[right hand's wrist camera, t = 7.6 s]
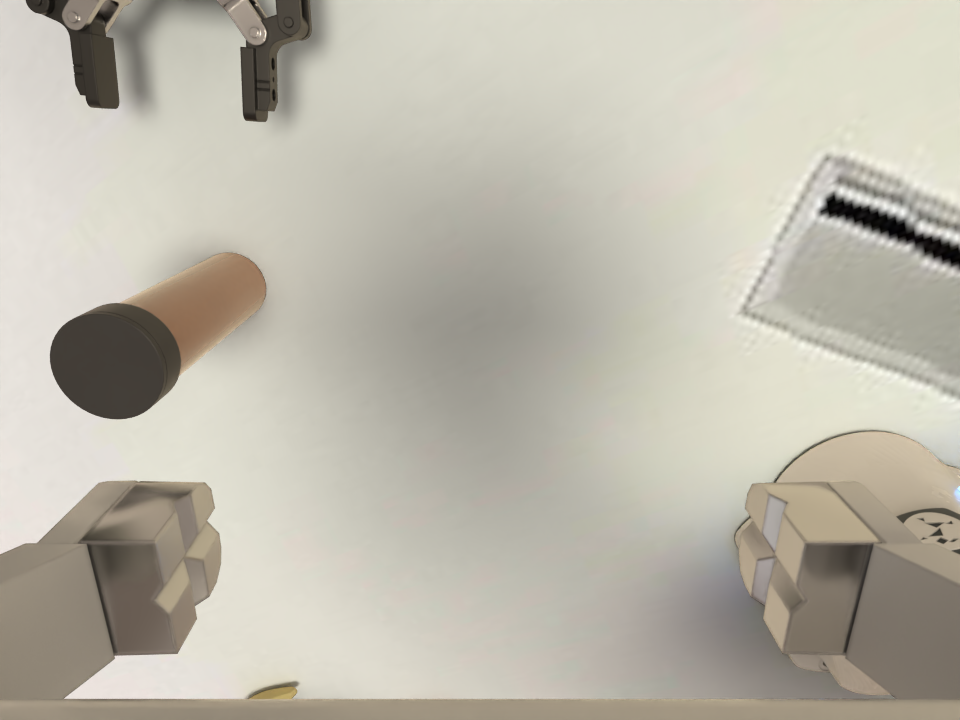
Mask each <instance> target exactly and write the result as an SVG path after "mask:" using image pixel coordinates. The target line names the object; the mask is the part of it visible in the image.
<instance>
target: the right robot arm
mask: <svg viewBox="0 0 960 720" xmlns="http://www.w3.org/2000/svg"><path fill="white" fill-rule="evenodd" d="M214 509H215V506H214V501H213V496H212V491H211V488H210V487H209V486H208V485H207V484H206V483H205V482H156V481H140V482H138V481H106V482H101V483H98V484H97V485H96V486H95V487H94V488H93V489H92V490H91V491H90V492H89V493H88V494H87V495H86V496H85V497H84V498H83V499H82V500H81V501H80V502H79V503H78V504H77V505H76V506H75V507H74V508H73V509H71V510H70V511H69V512H68V513H67V514H66V515H65V516H64V517H63V518H62V519H61V520H60V521H59V522H58V523H57V524H56V525H55V526H54V527H53V528H52V529H51V530H50V531H49V532H48V533H47V534H46V535H45V536H44V537H43V538H42V539H41V540H40V541H39V542H38V543H29V544H23V545H21V546H19V547H16V548H14V549H12V550H9V551H7V552H5V553H3V554H0V720H960V469H958V468H955V467H951V466H947V465H945V464H943V463H942V462H941V461H939V460H938V459H937V458H936V457H935V456H934V455H933V454H932V453H931V452H930V451H928V450H927V449H926V448H925V447H923V446H922V445H920V444H919V443H917V442H915V441H913V440H911V439H909V438H907V437H904V436H901V435H897V434H893V433H887V432H874V431H872V432H858V433H852V434H847V435H843V436H840V437H837V438H834V439H831V440H828V441H826V442H824V443H822V444H820V445H818V446H816V447H814V448H812V449H811V450H809V451H807V452H806V453H804V454H803V455H802V456H800V457H799V458H798V459H797V460H795V461H794V462H793V463H792V464H791V465H790V466H789V467H788V468H787V469H786V470H785V471H784V472H783V473H782V475H781V476H780V477H779V478H778V480H777V481H776V483H756V484H752V485H751V487H750V489H749V492H748V494H747V500H746V505H745V509H746V510H747V512H748V514H749V515H750V517H751V518H750V519H748V520H747V521H746V522H745V523H744V524H743V525H742V526H741V527H740V528H739V530H738V531H737V533H736V535H735V542H736V545H737V547H738V549H739V552H738V554H739V564H740V572H741V575H742V579H743V582H744V585H745V587H746V589H747V590H748V592H749V594H750V596H751V597H752V598H754V599H755V600H757V601H758V602H760V603H761V604H763V605H764V606H765V610H764V616H763V620H764V622H765V623H766V625H767V627H768V629H769V630H770V632H771V634H772V636H773V638H774V639H775V641H776V643H777V645H778V646H779V648H780V650H781V652H782V654H788V656H789V657H790V659H791V660H792V662H793V663H794V664H795V665H796V666H797V667H799V668H802V669H806V670H811V671H818V672H831V674H832V675H833V677H834V678H835V680H836V681H837V682H838V684H839V685H840V686H841V687H843V688H845V689H847V690H849V691H852V692H855V693H859V694H866V695H888V694H891V695H892V696H893V697H894V698H896V699H64V698H65V697H66V696H68V695H69V694H70V693H71V692H73V691H74V690H75V689H77V688H78V687H79V686H80V685H82V684H83V683H84V682H86V681H87V680H88V679H89V678H91V677H92V676H93V675H95V674H96V673H97V672H98V671H100V670H101V669H102V668H104V667H105V666H106V665H107V664H109V663H110V662H111V661H113V660H114V659H115V656H117V655H152V654H178V652H179V650H180V648H181V647H182V645H183V643H184V641H185V639H186V638H187V636H188V634H189V632H190V630H191V629H192V627H193V625H194V623H195V622H196V620H197V616H196V610H195V606H196V605H197V604H199V603H200V602H202V601H203V600H205V599H206V598H208V597H209V596H210V594H211V592H212V590H213V588H214V586H215V585H216V583H217V579H218V574H219V570H220V566H221V543H220V536H219V533H218V532H217V531H216V530H215V529H214V528H213V527H212V526H211V525H210V524H209V522H208V521H207V520H208V518H209V517H210V515H211V513H212V512H213V510H214Z"/></svg>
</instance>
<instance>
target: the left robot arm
mask: <svg viewBox="0 0 960 720" xmlns="http://www.w3.org/2000/svg"><path fill="white" fill-rule="evenodd" d="M132 1H133V0H26V3H27V5H28V7H29V8H30V9H31V10H32V11H34V12H35V13H39V14H43V15H45V16H47V17H49V18H51V19H53V20H56V21H58V22H60V23H61V24H63V25H64V26H65V28H66V29H67V30H68V32H69V35H70V41H71V50H72V58H73V64H74V66H73V67H74V73H75V74H74V75H75V84H76V87H77V89H78V91H79V93H80V95H85V96H86V101H87V104H88V105H89V106H90V107H93V108H107V109H117V108H118V106H119V93H118V83H117V72H116V62H115V52H114V42H113V38H109V37H106V33H107V32H108V31H109V29H110V28H111V26H112V25H113V23H114V21H115V20H116V18H117V17H118V15H119V13H120V12H121V10H122V9H123V8H124V7H125V6H127V5H129V4H130V3H131V2H132ZM217 1H218V3H219V4H220V5H221V6H222V7H223V8H224V9H225V10H226V11H227V13H228V14H229V15H230V17H231V18H232V20H233V21H234V23H235V24H236V26H237V27H238V28H239V30H240V31H241V33H242V34H243V36H244V37H245V39H246V47H240V49H241V74H242V100H243V116H244V119H245V120H246V121H256V122H266V121H267V118H268V111H275V108H276V105H277V103H278V95H277V52H278V50H279V48H280V47H281V46H282V45H284V44H287V43H290V42H293V41H296V40H306V39H307V38H309V36H310V35H311V31H312V26H311V10H310V0H276V10H277V15H274V16H271V17H267V15H266V14H265V12H264V11H263V9H262V8H261V7H260V5H259V3H258V0H217Z"/></svg>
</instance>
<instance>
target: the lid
mask: <svg viewBox="0 0 960 720" xmlns="http://www.w3.org/2000/svg"><path fill="white" fill-rule="evenodd" d="M50 363H51V369H52V372H53V375H54V377H55V380H56V382H57V384H58V385H59V387H60V388H61V390H62V391H63V392H64V394H65V395H66V396H67V397H68V398H69V399H70V400H71V401H72V402H73V403H75V404H76V405H77V406H79V407H80V408H82V409H83V410H85V411H87V412H89V413H91V414H94V415H96V416H100V417H103V418H109V419H127V418H132V417H135V416H138V415H140V414H142V413H144V412H145V411H147V410H148V409H150V408H151V407H152V406H153V405H154V404H155V403H157V402H158V401H159V400H160V399H161V398H162V397H164V396H165V395H166V394H167V393H168V392H169V391H170V390H171V389H172V388H173V386H174V385H175V383H176V382H177V380H178V377H179V374H180V369H181V355H180V351H179V347H178V344H177V342H176V340H175V338H174V336H173V334H172V333H171V331H170V330H169V328H168V327H167V326H166V325H165V324H164V323H163V322H162V321H161V320H160V319H159V318H157V317H156V316H155V315H153V314H152V313H150V312H148V311H147V310H144V309H142V308H140V307H137V306H134V305H130V304H124V303H112V304H106V305H102V306H99V307H97V308H95V309H92V310H90V311H88V312H86V313H84V314H82V315H80V316H78V317H76V318H74V319H72V320H70V321H68V322H67V323H66V324H65V325H63V326H62V327H61V329H60V330H59V331H58V332H57V334H56V335H55V337H54V340H53V342H52V346H51V351H50Z"/></svg>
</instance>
